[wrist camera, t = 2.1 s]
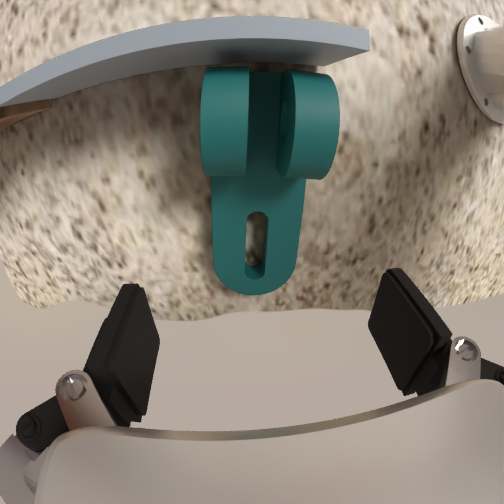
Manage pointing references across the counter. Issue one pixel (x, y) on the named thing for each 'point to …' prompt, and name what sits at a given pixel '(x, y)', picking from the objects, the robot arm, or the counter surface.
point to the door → (188, 52)
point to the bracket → (263, 163)
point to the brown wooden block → (21, 112)
